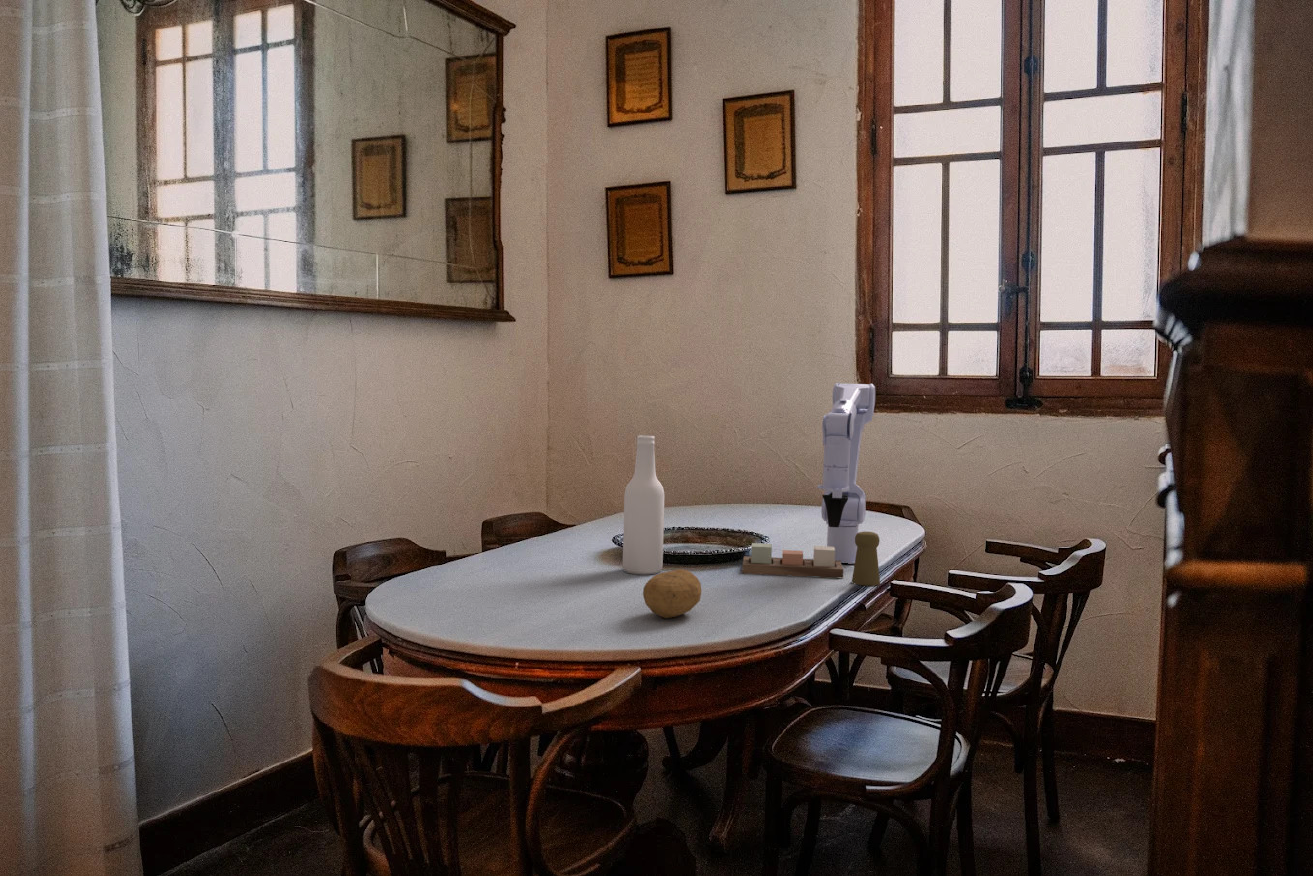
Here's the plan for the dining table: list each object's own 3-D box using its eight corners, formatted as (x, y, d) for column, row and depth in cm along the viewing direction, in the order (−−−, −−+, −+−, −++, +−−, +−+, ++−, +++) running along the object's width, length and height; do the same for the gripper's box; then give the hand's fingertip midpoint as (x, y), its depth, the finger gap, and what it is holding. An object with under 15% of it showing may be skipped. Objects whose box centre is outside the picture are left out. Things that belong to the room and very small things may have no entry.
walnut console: (743, 564, 238) (744, 556, 238) (840, 569, 236) (840, 560, 236) (742, 573, 229) (742, 564, 228) (843, 578, 226) (843, 569, 226)
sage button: (751, 560, 235) (751, 543, 235) (771, 561, 235) (771, 544, 235) (750, 564, 231) (751, 546, 231) (771, 565, 230) (771, 547, 230)
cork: (867, 586, 217) (868, 534, 217) (845, 582, 222) (847, 531, 222) (886, 583, 221) (887, 532, 221) (864, 579, 226) (866, 529, 225)
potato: (627, 620, 185) (628, 576, 184) (665, 605, 197) (667, 563, 196) (674, 628, 180) (676, 583, 179) (711, 612, 192) (712, 570, 191)
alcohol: (662, 575, 224) (666, 437, 221) (622, 574, 224) (625, 436, 221) (662, 567, 232) (665, 435, 230) (623, 566, 232) (626, 434, 230)
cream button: (813, 563, 234) (813, 545, 234) (833, 564, 233) (834, 546, 233) (814, 567, 229) (814, 549, 229) (834, 568, 229) (835, 550, 229)
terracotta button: (781, 567, 235) (782, 549, 234) (801, 568, 234) (802, 550, 234) (782, 571, 230) (782, 553, 230) (802, 572, 230) (803, 554, 230)
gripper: (816, 463, 238) (814, 521, 239) (819, 468, 224) (817, 530, 224) (847, 464, 237) (845, 523, 238) (852, 469, 223) (850, 532, 224)
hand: (833, 526), depth 231 cm, fingers closed
